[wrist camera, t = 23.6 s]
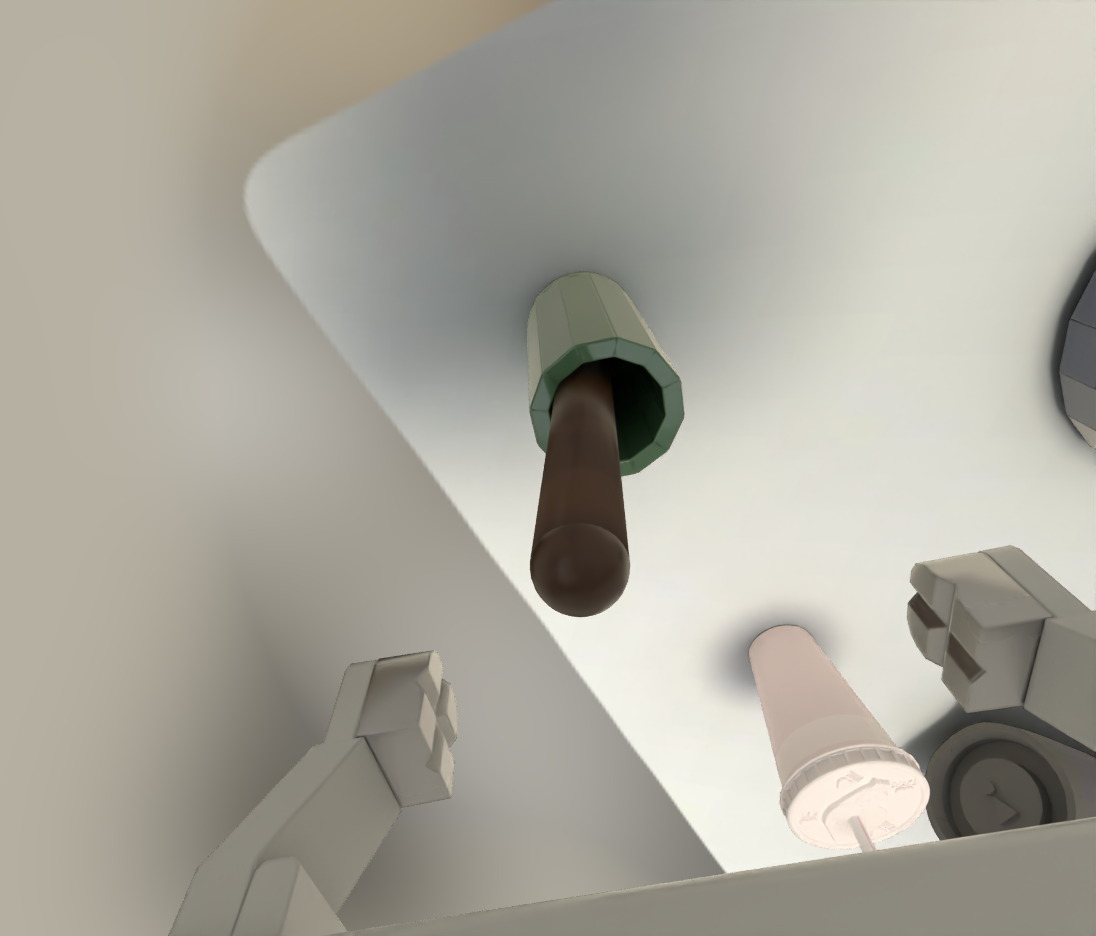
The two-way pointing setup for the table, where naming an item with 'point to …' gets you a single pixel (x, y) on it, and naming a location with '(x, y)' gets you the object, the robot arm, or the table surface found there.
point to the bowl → (1081, 365)
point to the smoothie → (831, 749)
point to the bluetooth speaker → (1006, 782)
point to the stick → (581, 500)
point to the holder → (598, 333)
